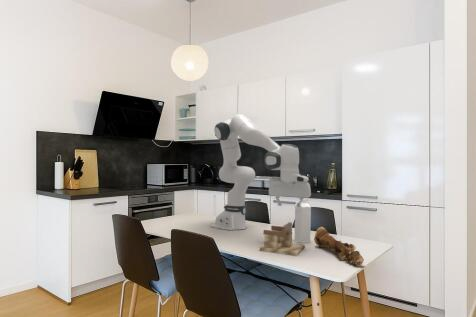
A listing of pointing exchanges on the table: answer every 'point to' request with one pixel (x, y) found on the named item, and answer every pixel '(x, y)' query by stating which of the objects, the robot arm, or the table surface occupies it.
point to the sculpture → (338, 247)
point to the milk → (302, 222)
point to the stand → (281, 245)
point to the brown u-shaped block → (285, 230)
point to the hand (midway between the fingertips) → (289, 206)
